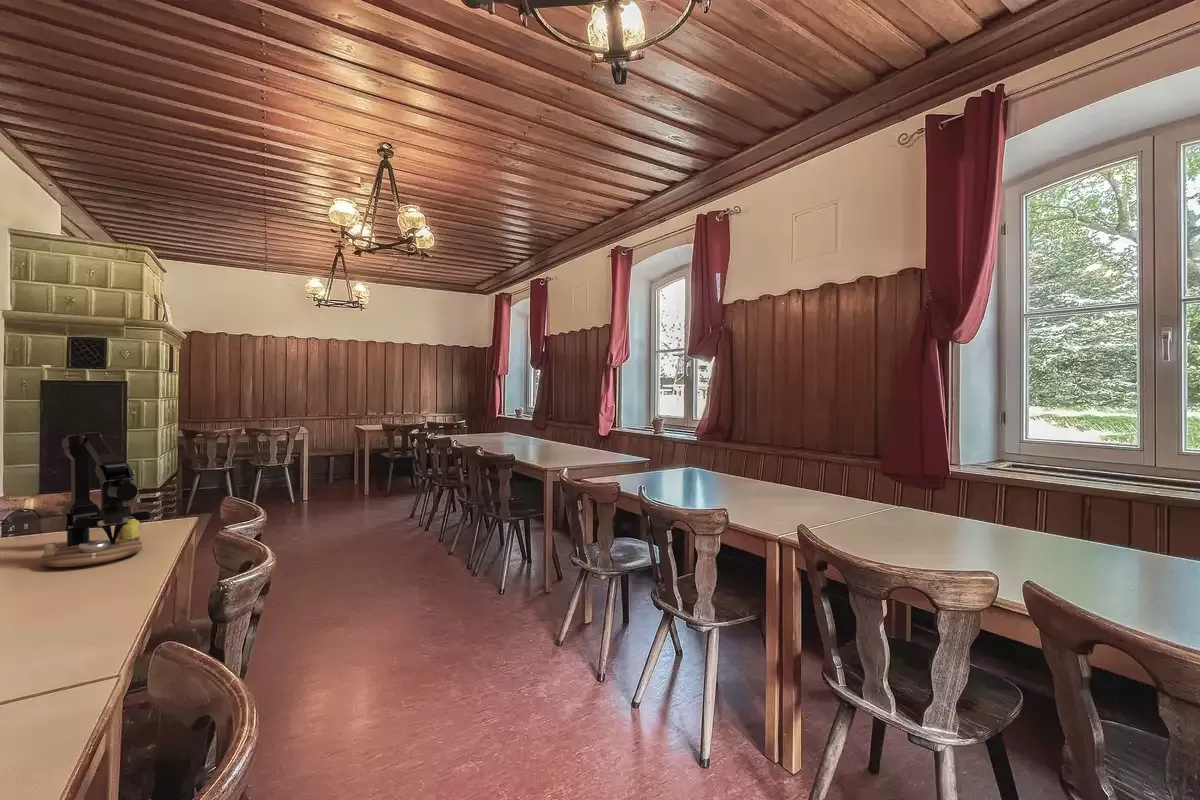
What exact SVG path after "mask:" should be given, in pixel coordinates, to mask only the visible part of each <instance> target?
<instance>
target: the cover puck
mask: <svg viewBox="0 0 1200 800" xmlns="http://www.w3.org/2000/svg"><path fill="white" fill-rule="evenodd" d="M109 541H110V540H109V539H95V540H91V541H88V542H84V543H81V544H79V553H95V552H100V551H104V550H107V549H109Z"/></svg>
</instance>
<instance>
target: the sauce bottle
mask: <svg viewBox="0 0 1200 800" xmlns="http://www.w3.org/2000/svg"><path fill="white" fill-rule="evenodd" d="M128 506H131V513H134V510H140V509H139V507H138V504H137V502H136V500H135V497H134V498H133V499H131V500H128V501H124V507H128ZM127 523H128V524H127V525H123V527H122V528H121V530H120V532H119V534H118V536H117V539H116V540H136V541H140V537H141V531H140V529H141V528H140V521H138V520H136V519H135V518H134V519H128V520H127Z"/></svg>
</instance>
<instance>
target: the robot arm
mask: <svg viewBox="0 0 1200 800" xmlns="http://www.w3.org/2000/svg"><path fill="white" fill-rule="evenodd" d="M102 435H103V434H102V433H101V432H97V431H95V432H93V431H92V432H83V433H79V434H68V435H67V436H66V437H64V438H62V440H61V445H62V448H63V452H64V454H65V455H66V456H67V458H68V459H70V482H71V483H70V487H71V488H70V489H71V491H70V492H71V494H70V495H71V497H70V502H68V504H67V505H66V507H65V508H64V514H63V515H62V517H61V518H60V521H59V523H58V528H59V530H60V531H63V532H66V543H65V545H64V548H66V547H70V546H75V545H79V544H81V543H84V542H88V541H92V540H91V539H90V528H91V527H97V528H98V529H103V530H104V533H106V536H107V538H108V540H109V541H110V542H111V544H115V541H116V540H117V536H118V534H119V532H120V530H121V528H122V527H123V525H127V524H128V523H127V520H128V519H134V518H135V519H136V520H138V521H139V522H140V521H145V520H146V521H147V520H151V512H150V510H149V509H147V508H145V509H139V510H134V513H131V506H128V507H124V501H128V500H131V499H133V498H134V499H135V498H136V496H137V495H138V493H139V489H138V486H137V485H136V484H134V483H131V482H132V481H133V480H134V472H133V470H132V469H131V467H130V465H129V463H128V462H127V461H126V459H124V458H123V457H122V456H119V455H116V454H114V453H113V452H112V450H111V448H110V447H109V446H108V445H107V443H106V442H105V441H104V439H103V436H102ZM91 457H92V458H93V461H95V463H96V465H95V469H94V470H95V471H94V472H95V475H96V476H97V478H98V480H99V482H98V483H99V485H100V512H99V511H98V510H97V509H98V508H97V507H98V506H97V504H96V503H94V502H93V501H92V500H91V498H90V497H91V493H90V492H91V489H90V484H91V482H90V478H91V475H90V459H91ZM99 515H100V516H99ZM111 524H114V527H113V533H112V527H111Z"/></svg>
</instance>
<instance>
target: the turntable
mask: <svg viewBox="0 0 1200 800" xmlns="http://www.w3.org/2000/svg"><path fill="white" fill-rule="evenodd" d="M142 550H143V542H141V541H140V540H139V541H136V540H117V539H116V541H115V544H111V542H110V540H109V549H107V550H104V551H100V552H95V553H79V545H75V546H70V547H66V548H65V547H63V548H59V549H57V543H56V542H47V543H45V544H43V555H42V556H40V565H41V566H44V567H49V568H67V567H78V566H79V567H81V566H88V565H89V564H91V565H95V564H96V563H97V564H100V563H101V562H102V563H105V562H110V561H115V560H120V559H124V558H126V557H130V556H132V555H135V554H137V553H139V552H140V551H142ZM89 566H90V565H89Z"/></svg>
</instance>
